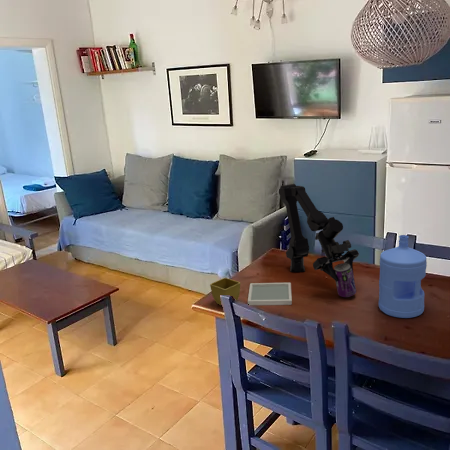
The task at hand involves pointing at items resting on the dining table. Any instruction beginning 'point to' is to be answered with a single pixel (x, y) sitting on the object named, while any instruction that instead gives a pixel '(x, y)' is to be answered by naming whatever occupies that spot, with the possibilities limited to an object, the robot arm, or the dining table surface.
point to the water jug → (402, 280)
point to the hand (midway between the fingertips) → (345, 279)
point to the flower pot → (225, 289)
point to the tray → (270, 294)
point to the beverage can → (345, 280)
